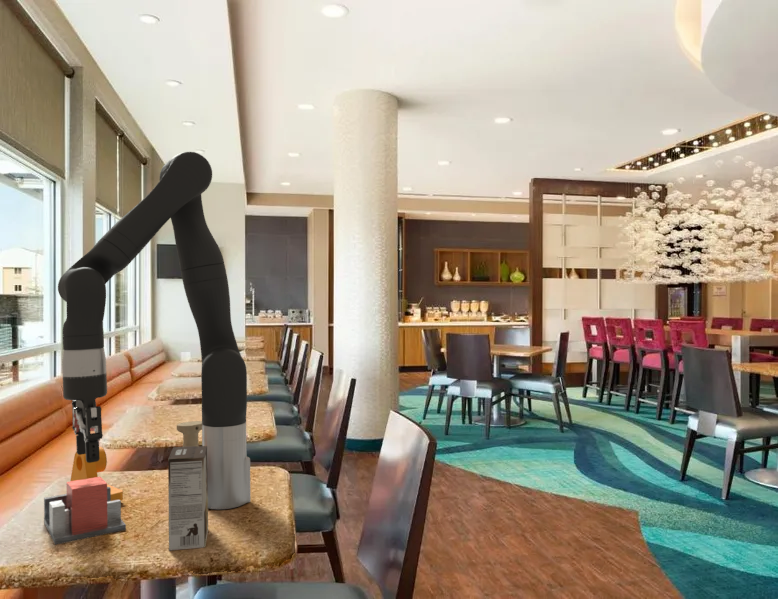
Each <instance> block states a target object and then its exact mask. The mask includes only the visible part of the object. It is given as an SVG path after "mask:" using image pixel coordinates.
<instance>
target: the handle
mask: <svg viewBox="0 0 778 599" xmlns="http://www.w3.org/2000/svg"><path fill="white" fill-rule="evenodd" d="M176 431H177V432H179V433H181V434H182V439H183V441H182V442H183V443H182V447H185V446H196V447H198V446H200V445H199V432H200V431H202V420H192V421H185V422H180V423H177V424H176Z"/></svg>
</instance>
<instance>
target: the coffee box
mask: <svg viewBox="0 0 778 599" xmlns="http://www.w3.org/2000/svg"><path fill="white" fill-rule="evenodd" d="M167 461H168V467H167V468H168V470H167V472H168V473H167V474H168V477H167V478H168V482H167V483H168V485H167V486H168V551H177V550H178V551H179V550H190V549H201V548H205V547H206V545H207V540H208V539H207V538H208V534H209V533H208V532H209V508H208V473H207V470H208V469H207V446H202V445H201V446H200V445H199V446H198V447H196V446H185V447H183V446H175V447H172V449H171V452H170V454H169V456H168V458H167Z"/></svg>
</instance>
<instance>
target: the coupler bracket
mask: <svg viewBox="0 0 778 599" xmlns="http://www.w3.org/2000/svg"><path fill="white" fill-rule="evenodd" d="M43 523H44V526H45V527H46V530H47V533H49V534H48V535H49V536H50V538H51V540H52V542H53V545H54V546H56V545H60V544H65V543H70V542H74V541H79V540H80V541H81V540H84V539H88V538H89V539H90V538H92V537H93V538H94V537H98V536H104V535H108V534H112V533H117V532H121V531H126V530H127V529H126V528H127V527H126V526H127V524H126V523H125V521H123V519H122V501H120V500H114V501H111V488H110V487H107V526H103V527H99V528H94V529H89V530H84V531H79V532H74V533H72V531H71V509H67V493H65V494H58V495H52V496H47V497H46V496H45V497H43Z"/></svg>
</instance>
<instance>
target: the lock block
mask: <svg viewBox="0 0 778 599" xmlns="http://www.w3.org/2000/svg"><path fill="white" fill-rule="evenodd" d="M107 484H108V483H107V482H106V480H104V479H103V478H102V477H101V476H98V477H95V478H88V479H82V480H76V481H66V484H65V485H66V494H67V509H71V531H72V533H74V532H79V531H84V530H89V529H94V528H99V527H103V526H107Z"/></svg>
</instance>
